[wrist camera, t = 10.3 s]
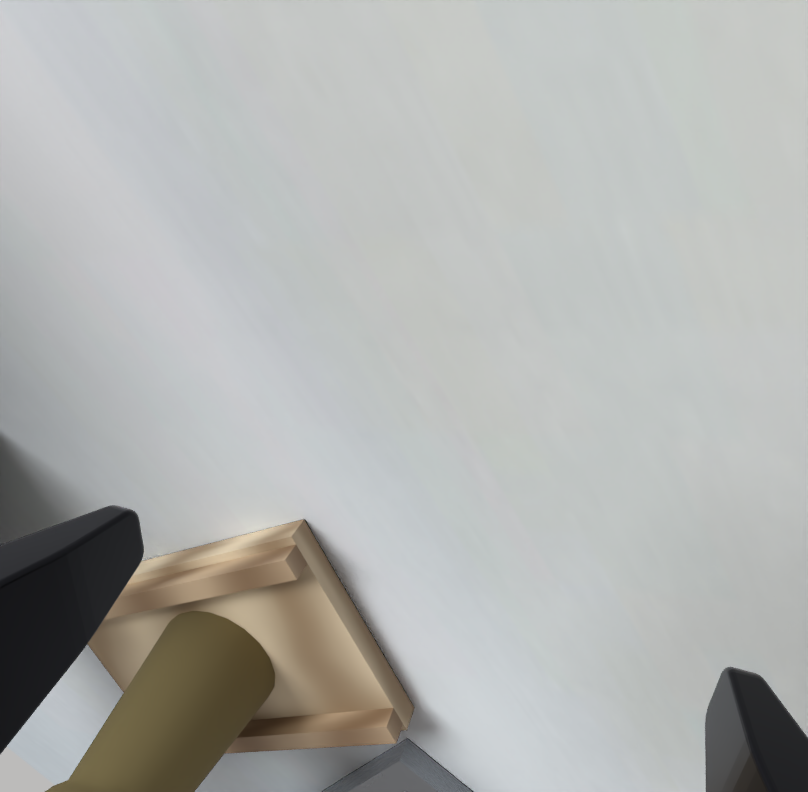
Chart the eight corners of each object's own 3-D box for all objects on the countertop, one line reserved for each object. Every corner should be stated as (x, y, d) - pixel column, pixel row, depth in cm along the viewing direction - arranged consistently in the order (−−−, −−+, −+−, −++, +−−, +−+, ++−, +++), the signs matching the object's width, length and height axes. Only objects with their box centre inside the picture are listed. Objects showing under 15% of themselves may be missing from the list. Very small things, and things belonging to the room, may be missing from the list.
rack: (303, 519, 27) (280, 551, 25) (414, 707, 30) (400, 749, 28) (68, 580, 34) (35, 609, 32) (177, 728, 37) (153, 763, 35)
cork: (219, 716, 33) (57, 968, 24) (143, 631, 32) (-59, 859, 23) (299, 689, 30) (150, 964, 21) (217, 595, 29) (21, 840, 20)
